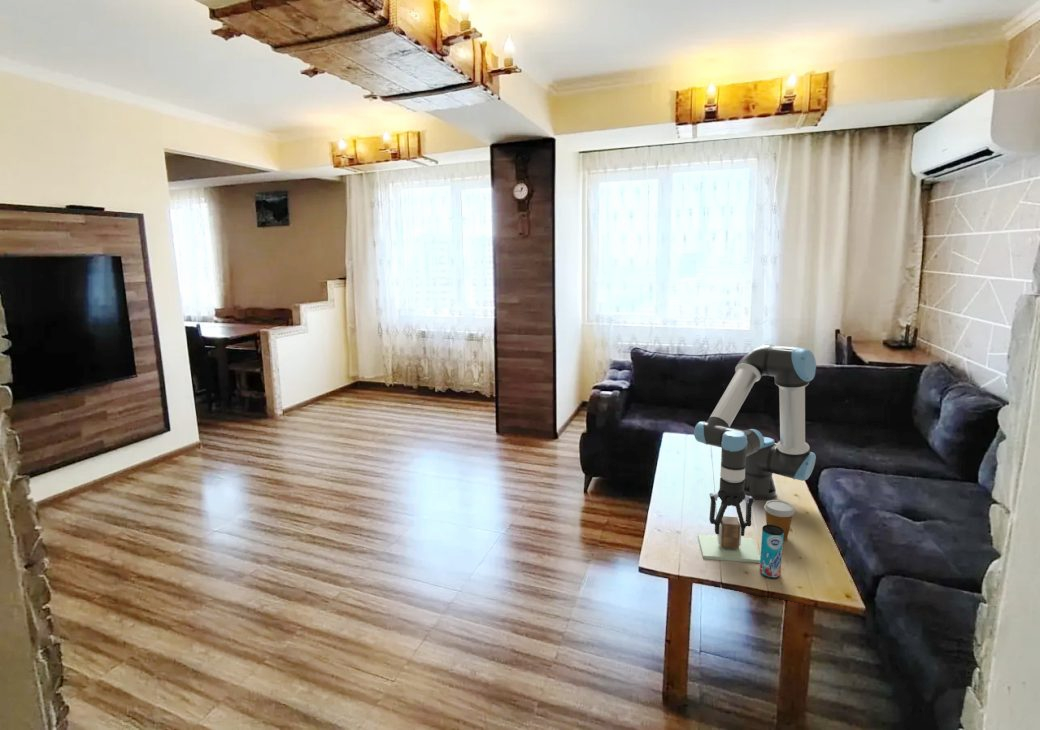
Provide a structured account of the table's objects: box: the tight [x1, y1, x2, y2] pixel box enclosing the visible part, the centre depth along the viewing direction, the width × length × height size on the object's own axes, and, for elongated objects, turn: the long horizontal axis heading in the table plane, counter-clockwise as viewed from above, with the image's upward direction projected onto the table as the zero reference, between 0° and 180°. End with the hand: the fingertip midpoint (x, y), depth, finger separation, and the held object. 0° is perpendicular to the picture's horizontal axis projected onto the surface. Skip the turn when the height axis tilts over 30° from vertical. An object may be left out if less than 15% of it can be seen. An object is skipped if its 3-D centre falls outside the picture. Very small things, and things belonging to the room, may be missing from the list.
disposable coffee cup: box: [763, 499, 796, 543], centre depth 187 cm, size 10×10×12 cm
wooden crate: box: [721, 515, 740, 549], centre depth 180 cm, size 5×5×9 cm
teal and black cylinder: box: [759, 524, 784, 580], centre depth 165 cm, size 6×6×15 cm
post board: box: [697, 534, 761, 564], centre depth 180 cm, size 18×14×7 cm
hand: (728, 543), depth 181 cm, fingers closed on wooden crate, 5 cm apart
